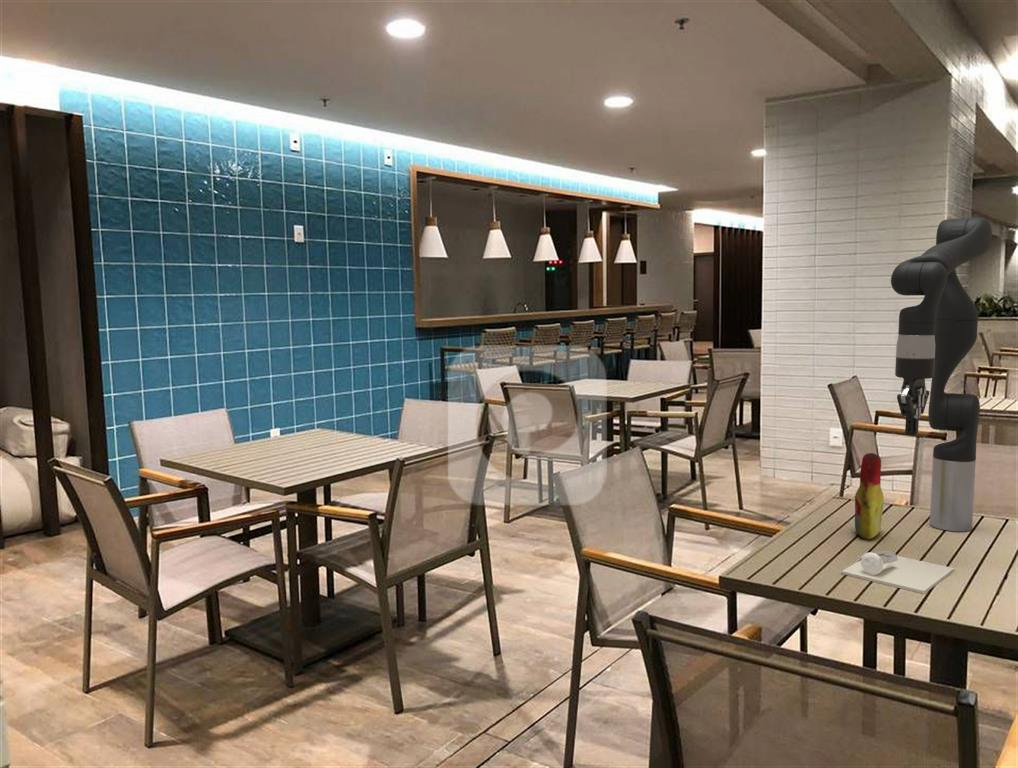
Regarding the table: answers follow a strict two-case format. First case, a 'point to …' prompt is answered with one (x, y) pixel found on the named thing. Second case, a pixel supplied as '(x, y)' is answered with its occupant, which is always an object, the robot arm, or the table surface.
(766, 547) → the table surface
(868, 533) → the bottle
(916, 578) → the mat
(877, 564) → the milkshake
